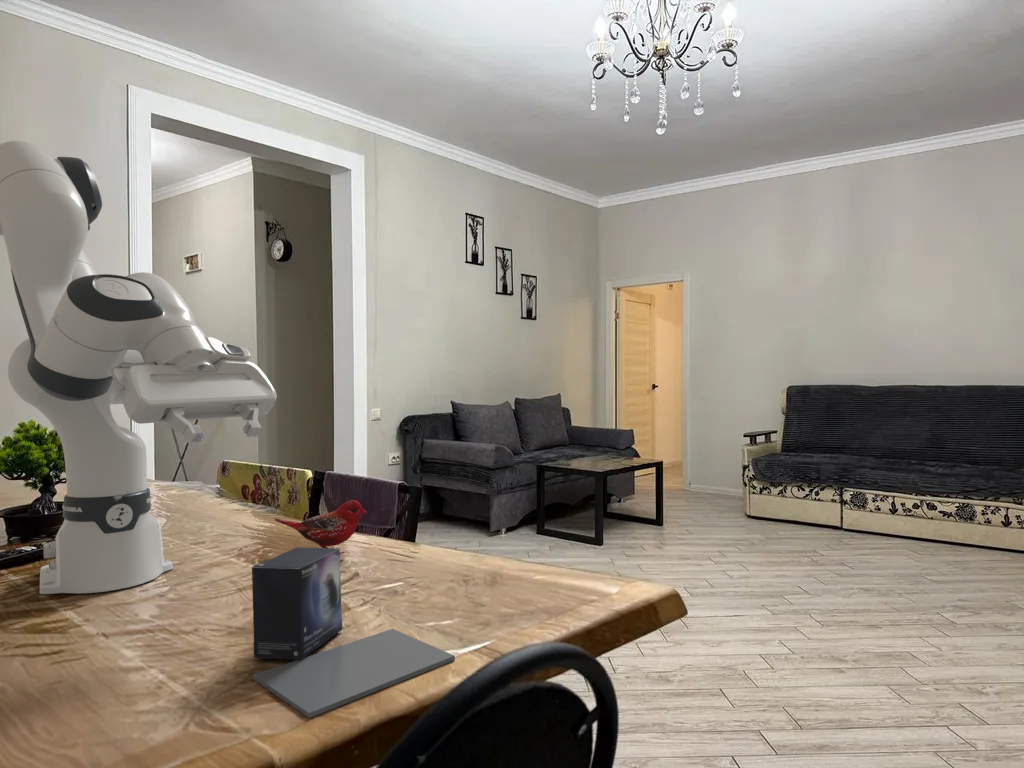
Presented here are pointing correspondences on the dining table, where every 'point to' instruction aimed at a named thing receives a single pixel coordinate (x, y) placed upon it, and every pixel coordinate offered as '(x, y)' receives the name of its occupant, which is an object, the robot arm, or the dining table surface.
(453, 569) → the dining table surface
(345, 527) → the decorative bird figurine
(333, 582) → the small box
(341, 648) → the slate tile
